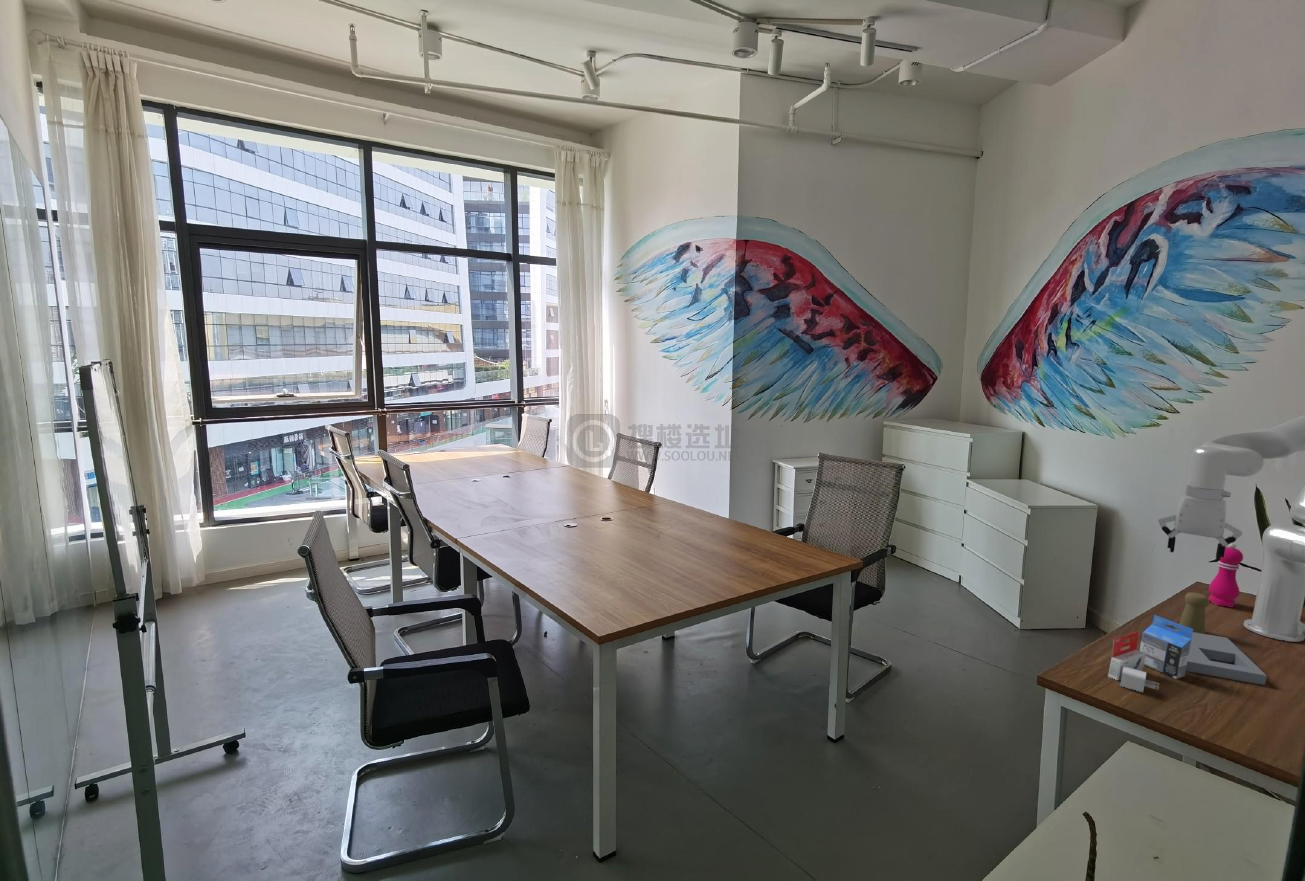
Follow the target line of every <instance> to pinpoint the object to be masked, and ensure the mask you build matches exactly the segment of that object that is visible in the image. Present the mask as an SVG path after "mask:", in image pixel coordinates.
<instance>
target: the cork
mask: <svg viewBox="0 0 1305 881" xmlns="http://www.w3.org/2000/svg"><path fill="white" fill-rule="evenodd" d="M1184 602H1185V603H1186V604H1185V606H1184V609H1183V612H1182V614H1181V617H1180V620H1179V623H1178V624H1180V625H1183V626H1186V627H1188V628H1191V629H1193V632H1195V633H1201V634H1206V608H1207V607H1208V605H1209V603H1210V602H1209V597H1208V596H1207V595H1204V594H1202V593H1198V592H1187V593H1186V594H1185V596H1184Z"/></svg>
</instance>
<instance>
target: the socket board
mask: <svg viewBox="0 0 1305 881" xmlns="http://www.w3.org/2000/svg"><path fill="white" fill-rule="evenodd" d="M1173 629H1174V630H1177V631H1179V629H1178V628H1173ZM1231 663H1232V664H1231ZM1185 672H1190V673H1196V674H1201V675H1206V676H1213V677H1217V678H1223V679H1228V680H1234V681H1238V682H1239V681H1240V682H1245V683H1250V684H1256V685H1260V684H1261V686H1265V685H1266V681H1267V677H1268V676H1267V674H1265V672H1264V671H1262V669H1260V668H1259V667H1258V666H1257V665H1256V664H1255V663H1254V662H1253V660H1251V659H1250V658H1249V657H1248V656H1247V655H1246V654H1245V653H1244V652H1243V651H1241V649H1240V648H1238V647H1237V645H1235V643H1233V642H1232V641H1231V640H1230V639H1229V638H1228V637H1224V636H1220V635H1219V636H1218V635H1213V634H1206V633H1205V634H1201V633H1195V632H1193V633H1192V638H1191V645H1190V649H1189V655H1188V660H1187V666H1186V671H1185Z"/></svg>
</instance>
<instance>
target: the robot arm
mask: <svg viewBox="0 0 1305 881" xmlns="http://www.w3.org/2000/svg"><path fill="white" fill-rule="evenodd" d="M1304 451H1305V414H1304V415H1303V414H1302V415H1300V416H1297V417H1296V418H1293V419H1290V420H1288V421H1285V422H1282V423H1280V424H1277V425H1275V426H1272V427H1268V428H1265V429H1263V428H1262V429H1256V430H1251V431H1245V432H1243V431H1242V432H1236V433H1230V434H1226V435H1221V436H1218V437H1216V438H1213V439H1211V440H1208V441H1207V442H1204V443H1203V444H1202V445H1200V446H1197V447H1195V448H1194V449H1193V450H1192V452H1191V458H1190V461H1189V462H1190V464H1189V470H1188V477H1187V484H1186V490H1185V494H1181V497H1180V498H1179V501H1178V505H1177V507H1176V513H1175V514H1174V515H1169V516H1166V517H1161V518H1159V519H1158V520H1157V521H1158V523H1159V526H1160V528H1161V530H1162V531H1163V533H1164V534H1166V535H1167V537H1168V540H1167V549H1169V552H1170V553H1174V552H1175V546H1176V536H1178V535H1179V534H1180V533H1181V534H1187V535H1195V536H1199V537H1207V538H1213V539H1214V538H1215V539H1216V540H1217V541H1218V542H1219V543H1217V547H1216V553H1215V559H1216V560H1217V561H1220V558H1221V557H1224V553H1225V547H1228V545H1229V544H1231V543H1235V542H1236V541H1237V539H1239V538H1240V536H1242V535H1243V531H1242V530H1241V529H1239V528H1237V527H1236V526H1233V524H1232V525H1231V524H1230V523H1228V522H1226V519H1227V518H1226V517H1227V515H1226V514H1227V513H1226V512H1227V511H1226V510H1227V504H1226V500H1224V499H1225V498H1231V494H1232V493H1231V491H1227V490H1225V486H1226V485H1225V484H1226V479H1227V478H1226V477H1227V476H1235V477H1239V478H1240V477H1243V478H1244V477H1245V478H1246V477H1252V476H1255V475H1257V474H1258V473H1260V472H1261V470H1262V469H1263V466H1264V464H1265V463H1264V462H1265V460H1264V459H1266V460H1267V459H1269V460H1270V459H1273V460H1274V459H1285V458H1288V457H1292V456H1293V455H1296V454H1298V453H1302V452H1304ZM1289 515H1290V516H1291V518H1292V519H1293V520H1294V521H1296V522H1298V523H1299V524H1300V523H1301V524H1303V525H1305V485H1304V486H1303V487H1302V489H1301V491H1300V492H1299V494H1298V495H1297V496H1296V498H1295V499H1294V501H1293V502H1292V504H1291V507H1290V508H1289ZM1171 522H1174V528H1172V529H1170V528H1169V527H1168V526H1167V524H1168V523H1171ZM1225 529H1226V530H1228V531H1230V532H1231V533H1232V534H1231V535H1230V536H1228V537H1225V538H1224V533H1225ZM1261 538H1262V539H1261V540H1262V542H1261V543H1262V565H1261V571H1260V575H1259V581H1258V586H1257V591H1256V596H1255V602H1254V608H1253V611H1252V612H1253V613H1252V616H1251V618H1250V619H1245V620H1244V621H1243V626H1244V627H1245V628H1246V629H1247V630H1249V631H1251V632H1253V633H1255V634H1258V635H1260V636H1264V637H1267V638H1270V639H1273V638H1274V639H1275V640H1279V641H1283V640H1284V641H1285V642H1292V643H1295V642H1296V643H1298V642H1299V643H1301V642H1303V641H1305V623H1303V622H1302V621H1301V616H1302V612H1303V607H1304V602H1305V526H1301V525H1296V524H1291V523H1285V522H1284V523H1283V522H1280V523H1279V522H1278V523H1274V524H1271V525H1269V526H1268V527H1267V528H1265V530H1264V532H1263V534H1262V537H1261ZM1274 639H1273V640H1274Z"/></svg>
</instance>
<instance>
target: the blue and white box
mask: <svg viewBox="0 0 1305 881" xmlns="http://www.w3.org/2000/svg"><path fill="white" fill-rule="evenodd" d="M1166 625H1168V626H1170V627H1168V626H1166ZM1171 626H1173V627H1174V628H1171ZM1174 629H1177V630H1179V631H1177V630H1174ZM1192 633H1193V629H1191V628H1188V627H1186V626H1183V625H1180V624H1179V623H1177V622H1175V621H1172V620H1170V619H1167V618H1164V617H1161V616H1159V615H1156V614H1154V616H1153V620H1152V623H1151V625H1150V626H1148V627H1147V628H1146V629H1145V630H1144V631H1143V632H1142V636H1141V639H1140V640H1141V641H1140V646H1139V651H1142V652H1144V653H1146V656H1145V661H1144V666H1145V667H1147V666H1148V668H1150V669H1153V670H1154V669H1155V670H1154V671H1157V672H1160V673H1161V672H1162V674H1163V675H1166V676H1168V677H1171V678H1173V679H1175V680H1179V679H1181V678H1185V676H1186V672H1187V671H1186V666H1187V660H1188V655H1189V649H1190V645H1191V638H1192Z"/></svg>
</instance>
